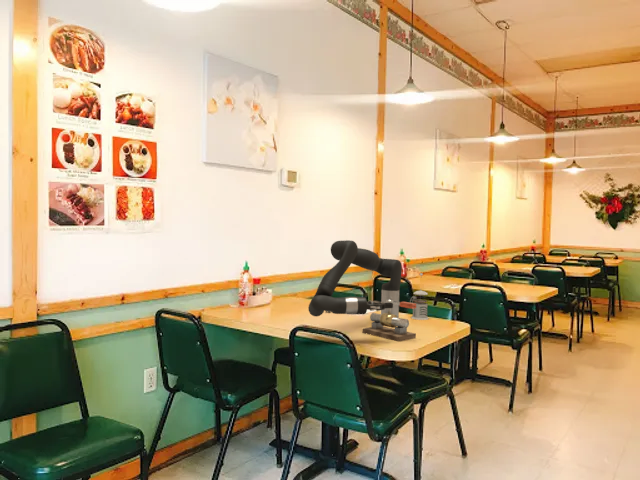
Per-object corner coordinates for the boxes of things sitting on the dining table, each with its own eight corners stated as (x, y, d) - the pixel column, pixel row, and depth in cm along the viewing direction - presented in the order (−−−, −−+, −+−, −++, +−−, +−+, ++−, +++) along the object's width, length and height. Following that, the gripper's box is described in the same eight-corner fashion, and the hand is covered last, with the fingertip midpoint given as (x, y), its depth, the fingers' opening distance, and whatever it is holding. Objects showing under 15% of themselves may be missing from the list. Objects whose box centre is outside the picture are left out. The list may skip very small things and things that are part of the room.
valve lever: (389, 303, 241) (389, 299, 241) (416, 308, 229) (416, 303, 229) (384, 304, 238) (384, 299, 238) (411, 308, 227) (412, 304, 227)
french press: (432, 319, 284) (434, 273, 283) (416, 320, 278) (418, 274, 277) (420, 316, 292) (421, 272, 291) (404, 317, 286) (406, 272, 285)
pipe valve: (410, 334, 233) (410, 307, 233) (401, 335, 229) (402, 308, 229) (376, 326, 248) (377, 301, 248) (368, 328, 244) (369, 302, 244)
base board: (415, 337, 235) (415, 333, 235) (399, 341, 227) (399, 336, 227) (379, 329, 251) (379, 325, 251) (362, 332, 243) (362, 328, 243)
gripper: (359, 299, 217) (398, 299, 221) (350, 294, 230) (387, 294, 234) (358, 317, 217) (397, 316, 221) (350, 311, 230) (386, 311, 234)
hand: (392, 305), depth 227 cm, fingers closed
